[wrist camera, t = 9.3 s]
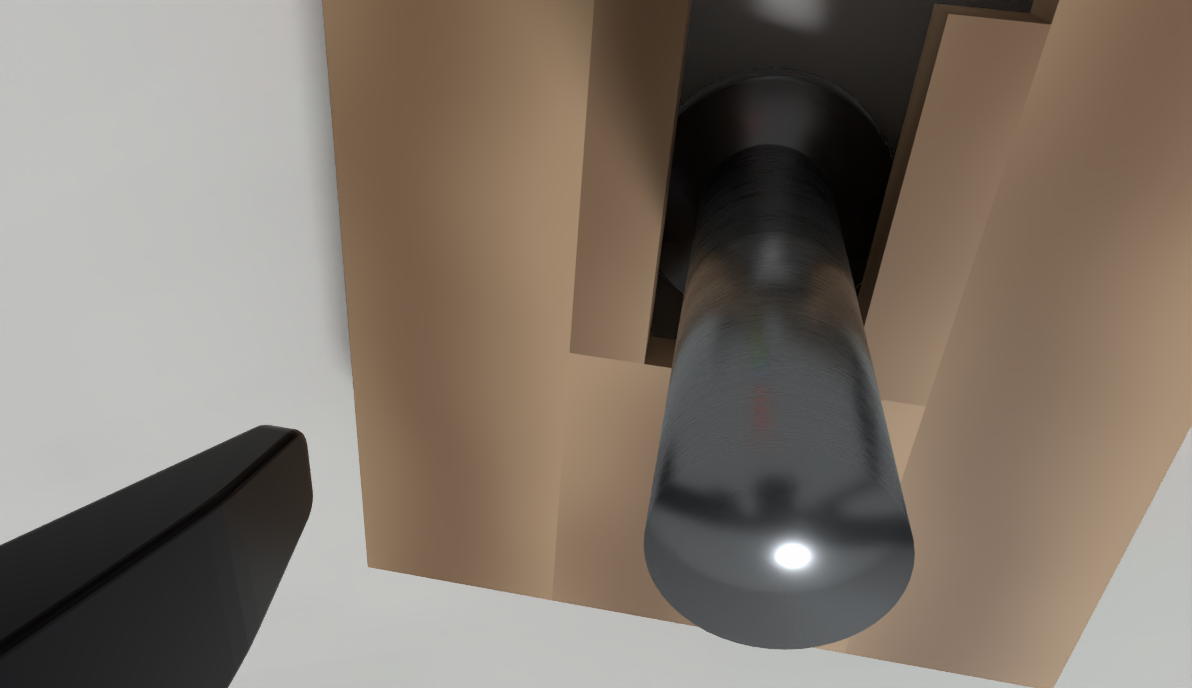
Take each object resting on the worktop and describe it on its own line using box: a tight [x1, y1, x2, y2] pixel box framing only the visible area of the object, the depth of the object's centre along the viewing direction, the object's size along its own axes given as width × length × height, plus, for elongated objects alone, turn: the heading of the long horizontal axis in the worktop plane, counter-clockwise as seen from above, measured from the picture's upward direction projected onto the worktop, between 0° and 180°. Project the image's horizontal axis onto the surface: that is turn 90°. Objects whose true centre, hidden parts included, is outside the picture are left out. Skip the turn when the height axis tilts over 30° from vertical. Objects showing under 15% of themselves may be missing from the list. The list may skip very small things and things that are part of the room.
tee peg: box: [644, 68, 915, 649], centre depth 12 cm, size 5×5×10 cm
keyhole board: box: [322, 0, 1192, 688], centre depth 13 cm, size 14×22×4 cm, turn 175°
